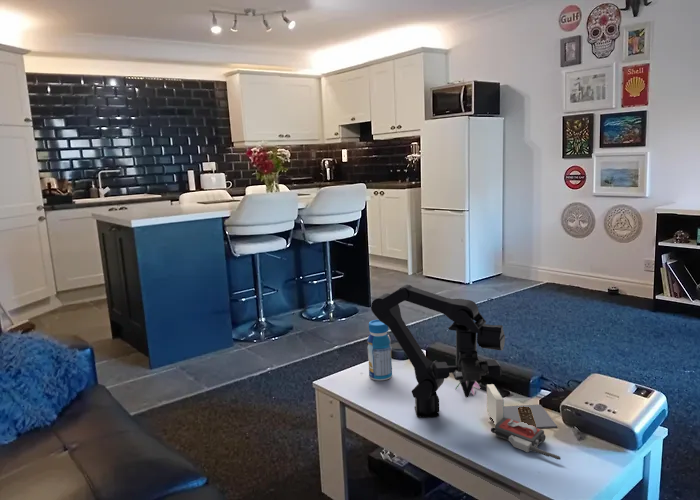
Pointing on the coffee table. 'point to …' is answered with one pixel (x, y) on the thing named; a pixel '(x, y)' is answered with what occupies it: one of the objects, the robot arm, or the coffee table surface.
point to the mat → (538, 412)
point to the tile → (494, 404)
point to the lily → (472, 387)
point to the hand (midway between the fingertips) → (466, 396)
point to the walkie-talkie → (521, 435)
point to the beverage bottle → (379, 351)
